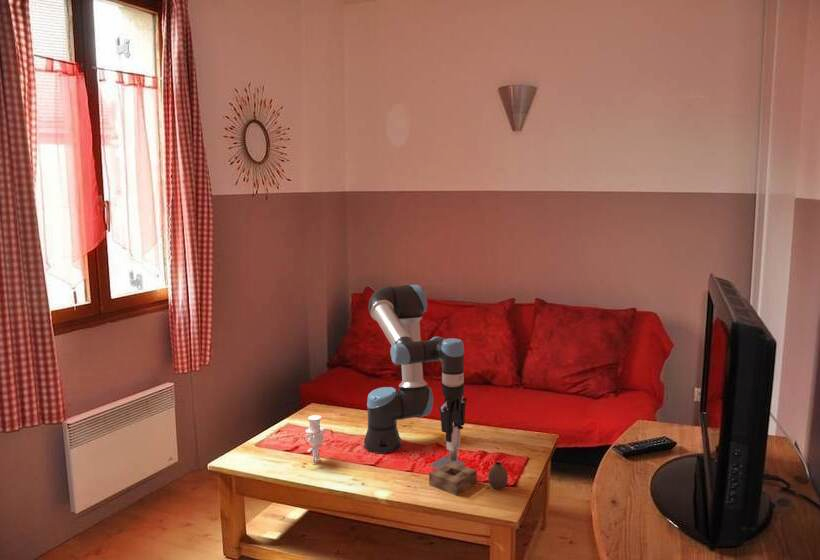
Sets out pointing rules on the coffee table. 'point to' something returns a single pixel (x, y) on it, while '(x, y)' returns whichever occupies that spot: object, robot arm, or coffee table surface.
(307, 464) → the coffee table surface
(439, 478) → the block
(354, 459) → the coffee table surface
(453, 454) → the peg
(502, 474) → the vase
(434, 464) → the mat
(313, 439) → the figurine
